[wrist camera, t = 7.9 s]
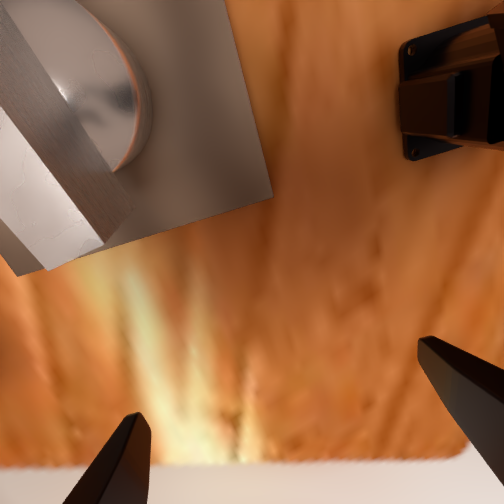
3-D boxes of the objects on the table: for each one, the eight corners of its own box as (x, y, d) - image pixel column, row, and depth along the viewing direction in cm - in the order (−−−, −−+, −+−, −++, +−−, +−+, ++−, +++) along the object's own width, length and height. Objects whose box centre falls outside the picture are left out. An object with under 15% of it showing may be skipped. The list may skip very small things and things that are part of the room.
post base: (181, -150, 12) (177, -188, 11) (269, 191, 19) (274, 198, 17) (-179, -33, 13) (-233, -54, 11) (31, 265, 19) (15, 278, 18)
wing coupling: (193, 166, 16) (178, 209, 9) (81, 221, 17) (-21, 304, 9) (42, -121, 11) (-274, -557, 4) (-111, -30, 12) (-640, -265, 4)
